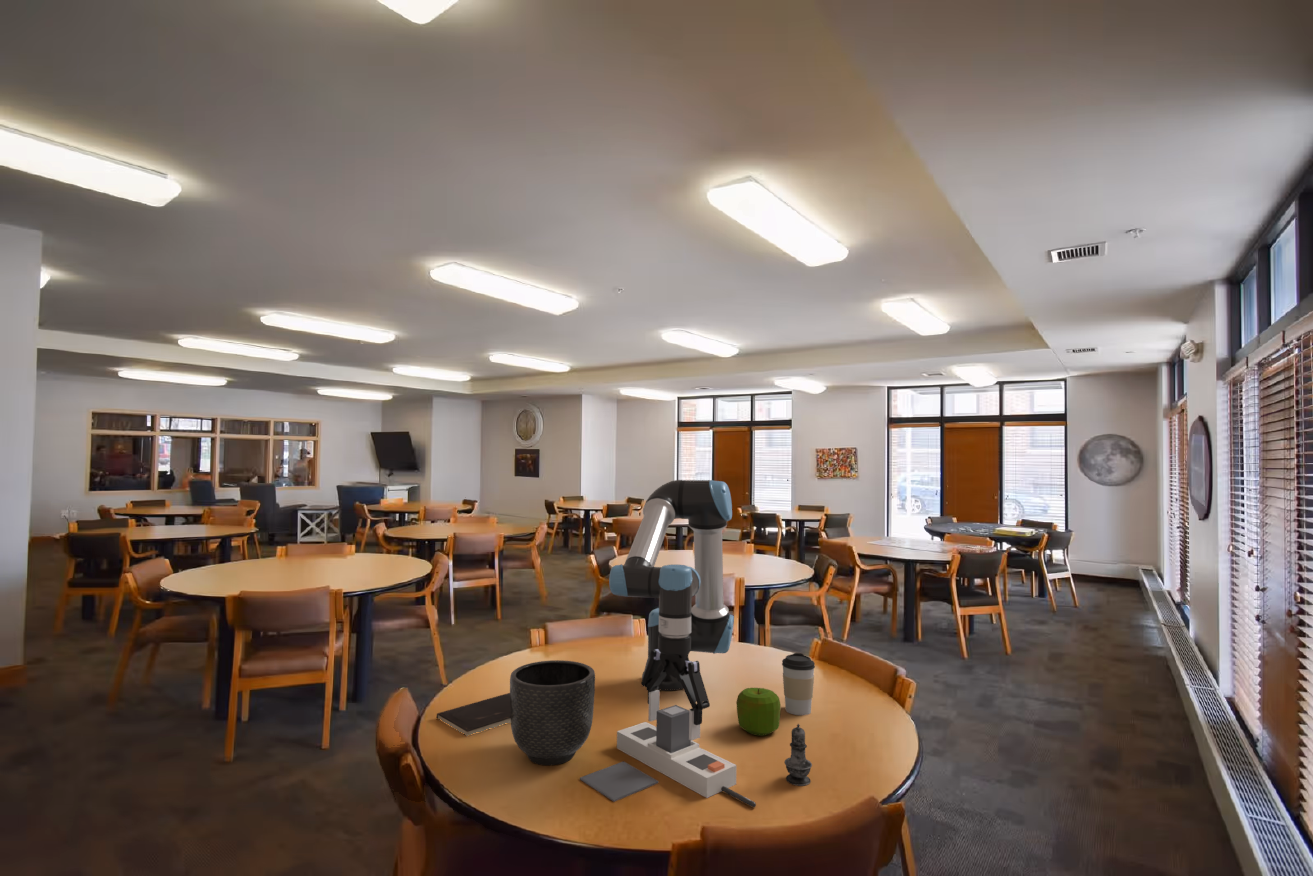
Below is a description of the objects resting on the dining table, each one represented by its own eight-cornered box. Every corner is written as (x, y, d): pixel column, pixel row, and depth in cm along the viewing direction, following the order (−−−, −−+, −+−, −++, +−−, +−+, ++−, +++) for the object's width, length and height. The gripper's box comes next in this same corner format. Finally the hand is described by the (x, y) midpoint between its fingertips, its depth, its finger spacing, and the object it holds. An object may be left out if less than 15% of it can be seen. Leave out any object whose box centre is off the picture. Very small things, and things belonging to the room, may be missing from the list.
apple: (782, 725, 168) (783, 683, 169) (776, 742, 158) (776, 697, 158) (741, 719, 172) (741, 678, 172) (732, 735, 162) (732, 691, 162)
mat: (579, 779, 138) (579, 777, 138) (623, 763, 146) (623, 761, 146) (613, 802, 129) (613, 799, 129) (658, 783, 136) (658, 781, 137)
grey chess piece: (781, 773, 141) (781, 718, 142) (807, 773, 142) (807, 718, 143) (788, 787, 136) (789, 729, 136) (815, 786, 136) (815, 729, 137)
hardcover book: (543, 714, 174) (543, 706, 174) (466, 740, 158) (467, 730, 158) (510, 699, 186) (511, 691, 186) (436, 721, 169) (436, 712, 169)
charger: (656, 747, 145) (656, 710, 145) (675, 739, 149) (675, 704, 149) (671, 754, 141) (671, 717, 141) (690, 747, 145) (690, 710, 145)
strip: (616, 748, 153) (617, 727, 153) (645, 738, 159) (645, 718, 159) (740, 816, 124) (740, 791, 124) (769, 801, 130) (769, 777, 130)
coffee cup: (815, 718, 173) (815, 662, 174) (781, 715, 175) (781, 659, 176) (814, 706, 182) (814, 652, 183) (781, 703, 184) (782, 650, 185)
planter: (555, 784, 135) (557, 693, 136) (489, 760, 146) (491, 676, 147) (610, 750, 152) (611, 669, 153) (547, 731, 162) (549, 655, 163)
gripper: (627, 626, 153) (626, 716, 152) (702, 648, 134) (701, 752, 133) (651, 621, 158) (650, 709, 157) (726, 642, 139) (725, 742, 138)
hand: (673, 729), depth 145 cm, fingers open, 13 cm apart
